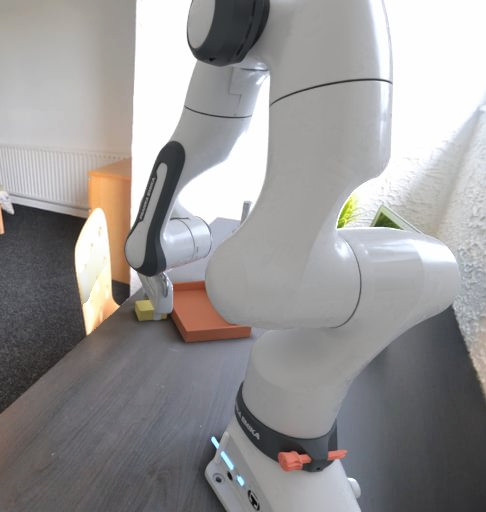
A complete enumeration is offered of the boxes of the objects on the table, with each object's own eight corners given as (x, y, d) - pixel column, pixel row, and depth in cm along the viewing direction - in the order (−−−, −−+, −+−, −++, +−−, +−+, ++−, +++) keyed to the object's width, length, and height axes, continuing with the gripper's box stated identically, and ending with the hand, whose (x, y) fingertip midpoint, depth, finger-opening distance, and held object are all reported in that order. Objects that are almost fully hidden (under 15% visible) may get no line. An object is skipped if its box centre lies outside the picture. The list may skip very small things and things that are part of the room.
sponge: (161, 308, 95) (162, 298, 94) (166, 318, 91) (167, 308, 90) (135, 310, 95) (135, 300, 93) (139, 321, 90) (139, 310, 89)
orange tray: (249, 336, 84) (252, 325, 83) (185, 342, 83) (186, 331, 81) (211, 289, 103) (213, 279, 102) (158, 293, 102) (159, 283, 100)
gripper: (182, 279, 77) (177, 332, 83) (156, 240, 95) (153, 286, 101) (153, 282, 76) (149, 335, 83) (132, 242, 95) (130, 288, 101)
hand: (151, 308), depth 92 cm, fingers open, 7 cm apart
